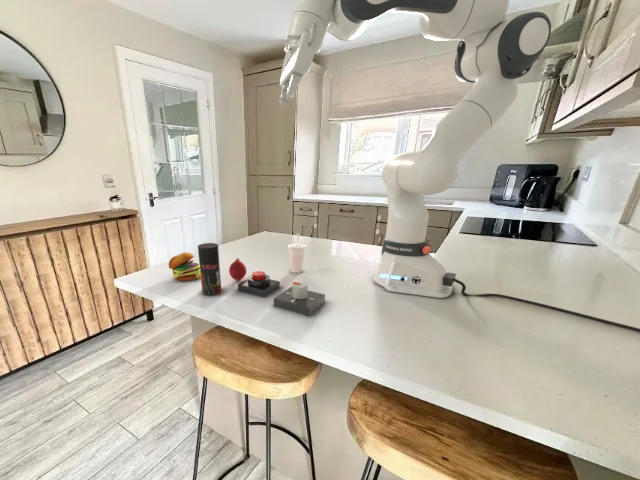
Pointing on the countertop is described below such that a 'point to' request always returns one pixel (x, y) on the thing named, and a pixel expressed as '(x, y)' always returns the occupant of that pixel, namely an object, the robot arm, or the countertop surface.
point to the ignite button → (258, 275)
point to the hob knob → (299, 290)
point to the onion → (237, 270)
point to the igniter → (259, 286)
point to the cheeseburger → (184, 267)
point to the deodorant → (209, 269)
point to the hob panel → (299, 302)
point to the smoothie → (296, 255)
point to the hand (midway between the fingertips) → (285, 100)
